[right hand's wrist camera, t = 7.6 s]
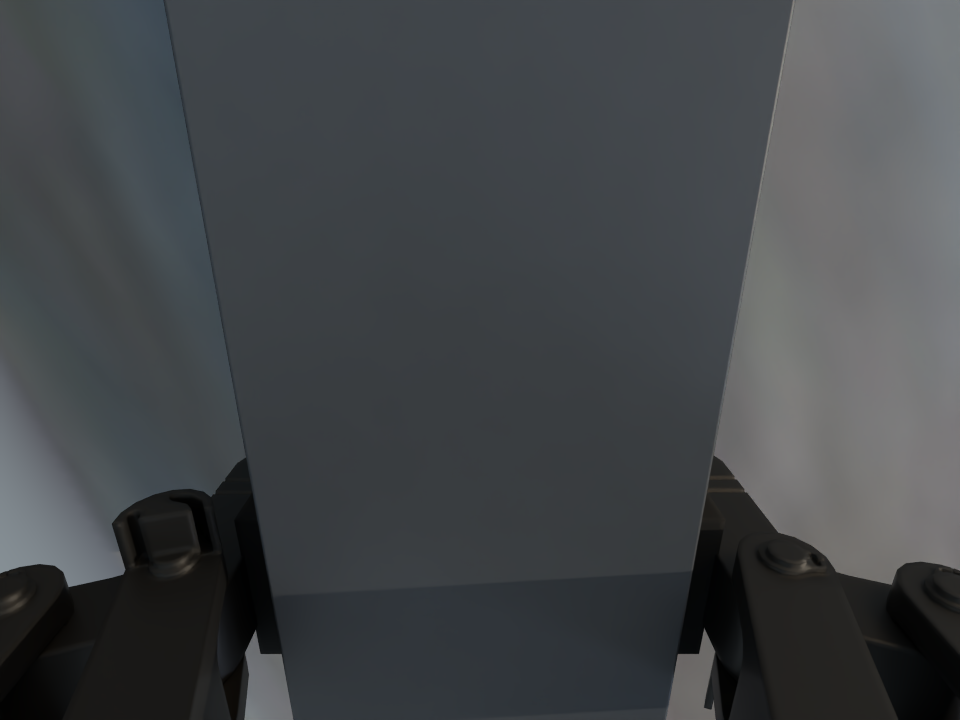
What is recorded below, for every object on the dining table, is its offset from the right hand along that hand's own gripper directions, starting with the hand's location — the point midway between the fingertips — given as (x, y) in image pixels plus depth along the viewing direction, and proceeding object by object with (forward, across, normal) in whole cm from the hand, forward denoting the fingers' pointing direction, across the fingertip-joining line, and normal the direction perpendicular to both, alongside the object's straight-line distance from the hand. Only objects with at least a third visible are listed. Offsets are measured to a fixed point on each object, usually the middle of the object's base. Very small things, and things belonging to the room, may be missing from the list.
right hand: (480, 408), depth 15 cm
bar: (0, 0, -34) cm, 34 cm away
